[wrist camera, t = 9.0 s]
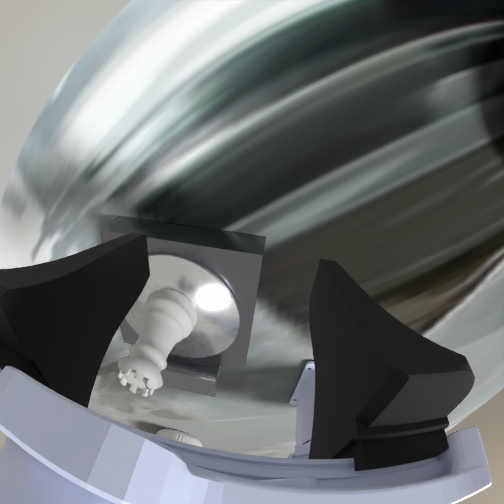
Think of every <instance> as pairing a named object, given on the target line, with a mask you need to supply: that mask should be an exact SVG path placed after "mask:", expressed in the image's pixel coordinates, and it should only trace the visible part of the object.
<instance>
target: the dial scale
mask: <svg viewBox="0 0 504 504" xmlns="http://www.w3.org/2000/svg"><path fill="white" fill-rule="evenodd" d="M130 233H141V234H146V235H147V248H148V259H149V268H150V277H149V279H148V281H147V283H146V285H145V287H144V289H143V291H142V293H141V295H140V296H139V298H138V299H137V301H136V302H135V304H134V305H133V307H132V308H131V310H130V311H129V313H128V314H127V315H126V317H125V319H124V320H123V322H122V323H121V325H120V329H121V332H122V336H123V339H124V342H126V343H129V344H132V345H133V344H135V343H136V341H137V340H138V338H139V336H140V333H141V330H142V327H143V323H142V319H143V316H142V310H143V307H144V304H145V302H146V301H147V298H148V296H149V295H150V294H151V293H152V292H154V291H155V290H161V289H170V290H175V291H178V292H180V293H181V294H183V295H185V296H186V297H187V298H188V299H189V300H190V301H191V302H192V304H193V306H194V308H195V310H196V312H197V322H196V324H195V326H194V327H193V330H192V331H191V333H190V334H189V336H188V337H186V338H184V339H182V340H181V341H180V342H178V343H176V344H175V345H174V347H173V348H172V350H171V351H170V353H169V354H168V357H167V359H166V362H167V366H166V368H165V369H163V370H161V372H160V374H161V377H162V380H163V385H167V386H171V387H174V388H178V389H182V390H186V391H191V392H195V393H199V394H204V395H209V396H214V397H215V395H216V391H217V387H218V383H219V379H220V375H221V371H222V367H229V368H234V369H240V370H245V365H246V359H247V353H248V347H249V341H250V335H251V329H252V323H253V316H254V310H255V304H256V298H257V291H258V285H259V278H260V272H261V265H262V259H263V252H264V246H265V239H266V237H263V236H256V235H249V234H243V233H236V232H229V231H223V230H216V229H209V228H202V227H195V226H188V225H180V224H173V223H166V222H158V221H151V220H143V219H136V218H128V217H120V216H119V217H118V218H116V219H115V220H114V221H112V222H111V223H109V224H108V225H107V226H105V227H104V228H103V229H102V230H101V235H102V242H103V243H105V242H107V241H110V240H112V239H115V238H118V237H120V236H123V235H126V234H130Z"/></svg>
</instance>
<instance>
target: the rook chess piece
mask: <svg viewBox="0 0 504 504" xmlns="http://www.w3.org/2000/svg"><path fill="white" fill-rule="evenodd" d="M142 316H143V319H142V323H143V327H142V330H141V333H140V336H139V338H138V340H137V341H136V343H135V344H133V345H131V346H130V349H129V350H130V355H129V356H126V357H123V358H121V359H119V360H118V368H119V372H118V375H117V378H119V379H120V380H119V382H120V384H121V385H122V386H125V385H126V383H129V384H130V385H131V386H130V388H129V391H131V392H132V393H134V394H135V393H136V390H137V389H140V390H141V392H140V394H141V396H146V397H147V396H148V394H150V395H152V394H153V391H154V390H155V389H158V388H160V387H161V386H162V385H163V380H162V377H161V374H160V372H161V370H163V369H165V368H166V366H167V362H166V359H167V357H168V354H169V353H170V351H171V350H172V348H173V347H174V345H175V344H176V343H178V342H180V341H181V340H182V339H184V338H186V337H188V336H189V334H190V333H191V331H192V330H193V327H194V326H195V324H196V322H197V312H196V310H195V308H194V306H193V304H192V302H191V301H190V300H189V299H188V298H187V297H186V296H185V295H183V294H181V293H180V292H178V291H175V290H170V289H161V290H155V291H154V292H152V293H151V294H150V295H149V296H148V298H147V301H146V302H145V304H144V307H143V310H142Z"/></svg>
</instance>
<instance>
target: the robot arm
mask: <svg viewBox="0 0 504 504" xmlns="http://www.w3.org/2000/svg"><path fill="white" fill-rule="evenodd" d="M149 277H150V268H149V259H148V248H147V235H146V234H141V233H130V234H126V235H123V236H120V237H118V238H115V239H112V240H110V241H107V242H105V243H102V244H100V245H97V246H95V247H92V248H90V249H87V250H84V251H82V252H79V253H77V254H74V255H71V256H68V257H65V258H61V259H58V260H55V261H51V262H46V263H42V264H37V265H33V266H27V267H21V268H13V269H0V430H1V431H2V432H4V433H5V434H6V435H7V436H8V437H7V439H6V441H5V443H4V445H3V446H2V448H1V450H0V504H455V503H457V502H460V501H462V500H464V499H466V498H468V497H470V496H472V495H474V494H476V493H478V492H480V491H482V490H483V489H485V488H487V487H489V486H490V485H491V484H492V481H491V476H490V472H489V467H488V463H487V458H486V455H485V451H484V447H483V444H482V440H481V437H480V433H479V430H478V427H477V426H473V427H470V428H467V429H463V430H460V431H456V432H454V433H452V434H450V435H448V436H446V434H445V430H444V429H445V428H447V427H448V426H449V421H448V418H447V415H448V414H449V413H450V412H452V411H453V410H454V409H455V408H456V407H457V406H458V405H459V404H460V403H461V402H462V401H463V400H464V398H465V397H466V396H467V395H468V394H469V392H470V390H471V389H472V387H473V384H474V380H475V377H474V374H473V372H472V370H471V368H470V365H469V363H468V361H467V359H466V357H465V356H463V355H461V354H458V353H456V352H454V351H451V350H449V349H447V348H445V347H442V346H440V345H438V344H436V343H434V342H432V341H431V340H429V339H427V338H425V337H423V336H422V335H420V334H418V333H417V332H415V331H413V330H412V329H410V328H409V327H407V326H406V325H404V324H403V323H401V322H400V321H399V320H397V319H396V318H395V317H393V316H392V315H391V314H389V313H388V312H387V311H386V310H384V309H383V308H382V307H381V306H380V305H379V304H377V303H376V302H375V301H374V300H373V299H372V298H371V297H370V296H369V295H368V294H367V293H366V292H365V291H364V290H363V289H362V288H361V287H360V286H359V285H358V284H357V283H356V282H355V281H354V280H353V279H352V278H351V277H350V276H349V275H348V273H347V272H346V271H345V270H344V269H343V268H342V267H341V266H340V265H339V264H338V263H337V262H336V261H331V260H324V259H320V263H319V267H318V271H317V275H316V278H315V282H314V286H313V290H312V293H311V297H310V303H309V322H310V331H311V339H312V347H313V356H314V361H309V362H307V363H306V365H305V368H304V370H303V372H302V375H301V377H300V379H299V382H298V384H297V386H296V388H295V391H294V393H293V395H292V397H291V399H290V405H294V406H297V417H296V444H297V446H295V454H291V455H289V456H288V458H273V457H262V456H253V455H245V454H238V453H232V452H226V451H220V450H215V449H209V448H205V447H200V446H196V445H191V444H187V443H183V442H179V441H175V440H172V439H168V438H165V437H161V436H158V435H155V434H152V433H148V432H145V431H142V430H139V429H137V428H134V427H131V426H128V425H126V424H123V423H120V422H118V421H115V420H113V419H111V418H108V417H106V416H103V415H101V414H99V413H96V412H94V411H92V410H90V409H88V404H89V400H90V396H91V392H92V389H93V386H94V382H95V379H96V376H97V373H98V371H99V368H100V365H101V363H102V360H103V358H104V355H105V353H106V351H107V349H108V347H109V344H110V342H111V340H112V338H113V336H114V334H115V333H116V331H117V329H118V328H119V326H120V325H121V323H122V322H123V320H124V319H125V317H126V315H127V314H128V313H129V311H130V310H131V308H132V307H133V305H134V304H135V302H136V301H137V299H138V298H139V296H140V295H141V293H142V291H143V289H144V287H145V285H146V283H147V281H148V279H149Z"/></svg>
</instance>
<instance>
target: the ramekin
mask: <svg viewBox="0 0 504 504" xmlns="http://www.w3.org/2000/svg"><path fill="white" fill-rule="evenodd" d="M156 435H158V436H161V437H165V438H168V439H172V440H175V441H179V442H183V443H187V444H191V445H196V446H200V447H203V446H202V444H201V442H200V441H199V440H198V439H197V438H195V437H193V436H191V435H189V434H187V433H184V432H181V431H177V430H172V429H161V430H159V431H158V432H157V433H156Z"/></svg>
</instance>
